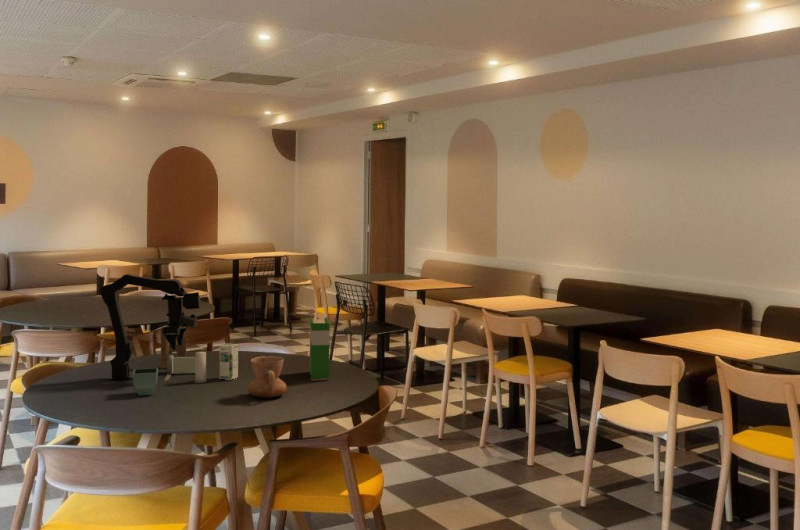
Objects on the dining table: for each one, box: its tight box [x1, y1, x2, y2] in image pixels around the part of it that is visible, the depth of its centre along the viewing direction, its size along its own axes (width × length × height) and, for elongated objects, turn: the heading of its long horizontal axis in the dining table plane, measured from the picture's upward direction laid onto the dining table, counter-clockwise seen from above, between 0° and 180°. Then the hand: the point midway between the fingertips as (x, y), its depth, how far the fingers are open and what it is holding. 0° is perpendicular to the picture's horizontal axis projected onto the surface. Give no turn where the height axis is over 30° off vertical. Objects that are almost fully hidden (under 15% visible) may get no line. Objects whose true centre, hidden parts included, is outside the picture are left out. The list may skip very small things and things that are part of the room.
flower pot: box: [131, 367, 159, 396], centre depth 283 cm, size 9×9×9 cm
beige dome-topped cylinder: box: [193, 351, 208, 384], centre depth 304 cm, size 5×5×12 cm
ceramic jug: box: [247, 355, 287, 399], centre depth 282 cm, size 18×14×14 cm
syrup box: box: [219, 343, 239, 381], centre depth 310 cm, size 6×6×14 cm
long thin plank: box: [163, 354, 174, 382], centre depth 314 cm, size 18×2×8 cm, turn 11°
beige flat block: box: [172, 356, 195, 375], centre depth 319 cm, size 11×2×7 cm, turn 101°
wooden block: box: [159, 326, 187, 370], centre depth 330 cm, size 4×11×18 cm, turn 111°
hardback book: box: [309, 316, 330, 380], centre depth 317 cm, size 18×7×24 cm, turn 9°
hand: (177, 347), depth 308 cm, fingers open, 9 cm apart
